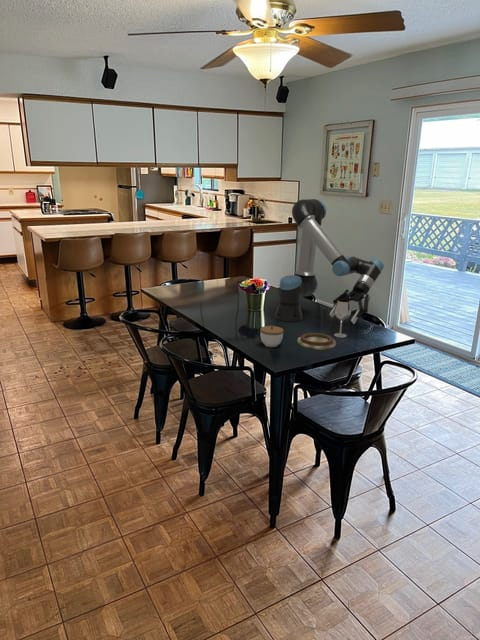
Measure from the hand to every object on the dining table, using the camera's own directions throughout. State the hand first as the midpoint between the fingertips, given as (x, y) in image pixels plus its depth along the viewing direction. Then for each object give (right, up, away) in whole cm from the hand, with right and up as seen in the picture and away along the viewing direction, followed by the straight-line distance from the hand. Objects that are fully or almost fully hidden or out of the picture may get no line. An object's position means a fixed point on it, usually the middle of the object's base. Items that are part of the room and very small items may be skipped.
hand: (341, 319), depth 236 cm
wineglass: (0, -9, +3) cm, 9 cm away
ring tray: (-14, -12, -9) cm, 20 cm away
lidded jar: (-36, -12, -13) cm, 40 cm away
